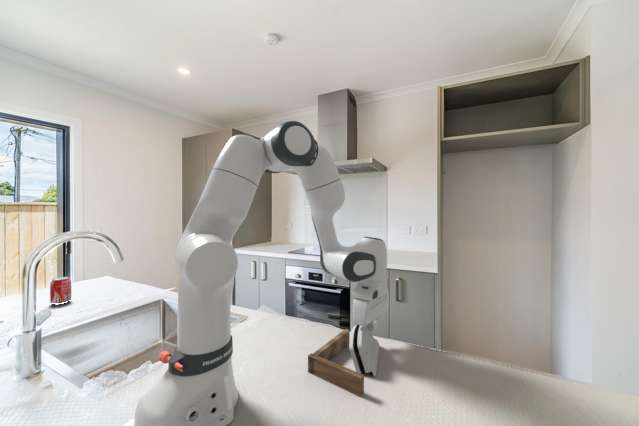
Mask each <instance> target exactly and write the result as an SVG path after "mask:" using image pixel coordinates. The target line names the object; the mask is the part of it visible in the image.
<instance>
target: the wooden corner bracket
mask: <svg viewBox="0 0 639 426" xmlns="http://www.w3.org/2000/svg"><path fill="white" fill-rule="evenodd" d="M350 335H351V331H350V329H347V328H345V329H343V330H342V331H340V333H338V334H337V335H336V336H334V337H332V339H330V340H329V341H328V342H326V343H325V344H324V345H322V346H321V347H320V348H318V349H317V350H315V351H314V352H313V353H310V354H308V355H307V373H309V374H311V375H314V376H315V377H317V378H319V379H322V380H324V381H325V382H328V383H330V384H332V385H334V386H336V387H338V388H340V389H343V390H345V391H347V392H349V393H351V394H353V395H356V396H358V397H360V398H362V397H363V395H364V394H365V375H364V374H362V373H361V374H360V373H358V372H356V370H352V369H351V368H348V367H346V366H343V365H341V364H339V363H336V362H334V361H332V360H333V359H334V358H335V357H336V356H337V355H338V354H339V353H341V352H342V351H343V350H344V349H346V348H347V346H348V347H349V342H350Z"/></svg>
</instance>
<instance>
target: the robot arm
mask: <svg viewBox="0 0 639 426" xmlns="http://www.w3.org/2000/svg"><path fill="white" fill-rule="evenodd" d="M287 171H293V172H295V174H297V176H298V178H299V180H300V182H301V185H302V187H303V190H304V193H305V196H306V200H307V202H308V206H309V209H310V214H311V220H312V223H313V227H314V231H315V234H316V237H317V241H318V245H319V254H320V255H319V256H320V257H319V259H320V260H319V262H320V266H321V268H322V270H323V271H324V272H325V273H326V274H328V275H331V276H335V277H338V278H341V279H342V280H345V281H348V282H351V283H357V284H356V286H355V287H354V288H353V290H352V292H351V296H352V298H354V299H353V302H352V318H353V319H352V321H353V323H354V325H359V326H363V327H365V326H366V325H369V330H370V331H371V332H374V331H375V330H376V329H377V328H378V323H379V317H380V315H381V314H382V313H383V312H384V311H386V310H387V309H388V308H389V305H390V294H389V288H388V276H387V271H386V270H387V266H388V250H387V245H386V243H385V241H384V240H383V239H382V238H377V237H372V236H362V237H361V239H360V240H359V241H358V242H356V244H354V245H352V246H350V247H345V246H343V245H342V244H341V243H340V242H339V240H338V238H337V233H336V229H335V226H334V221H333V219H334V215H335V214H336V213H337V212H338V211H339V210H340V209H341V208H342V206H343V205H344V203H345V199H346V194H345V189H344V188H345V187H344V185H343V181H342V179H341V175H340V173H339V170H338V168H337V166H336V163H335V161H334V159H333V157H332V155H331V154H330V152H329V150H328V149H327V148H326V147H325V146H322V145H319V144H318V142H317V140H316V139H315V137H314V135H313V133H312V131H311V130H310V129H309V128H308V127H307V126H306V125H305V124H303V123H302V122H300V121H297V120H290V121H284V122H282V123H279V124H278V125H276V126H275V128H273V129H271V130H270V131H268V132H267V133H266V134H265V135H264V136H262V137H261V138H260V139H259V138H258V139H257V138H255V137H253V136H251V135H247V134H234V135H233V136H232V137H230V138H229V139H228V141H227V142H226V143H225V145H224V146H223V148H222V149H221V151H220V153H219V155H218V157H217V159H216V161H215V163H214V166H212V169H211V172H210V175H209V176H208V179H207V182H206V184H205V186H204V188H203V191H202V193H201V196H200V198H199V200H198V203H197V204H196V206H195V209H194V210H193V212H192V214H191V216H190V218H189V220H188V223H187V224H186V226H185V228H184V230H183V232H182V235H181V237H180V240H179V242H178V244H177V246H176V247H175V248H176V249H175V254H174V255H175V261H176V264H177V271H178V284H177V285H178V287H177V288H178V289H177V292H178V293H177V309H176V313H177V314H176V315H177V316H176V319H177V320H176V322H177V323H176V324H177V326H176V327H177V330H176V332H177V333H176V334H177V339H176V340H177V341H176V342H177V344H176V347H175V348H174V351H173V353H170V352H169V351H168V350H163V351H161V352H160V353H159V355H158V361H160V362H161V363H162V364H163V365H164V364H165V365H166V364H168V367H167V368H166V369H165V370H164V371H163V372H162V374H161V375H160V376H159V377H158V378H157V379H156V380H155V381H154V382H153V383H152V384H151V385H150V387H148V389H146V391H145V392H144V393H143V394H142V395H141V396H140V397H139V400H138V401H137V403H136V404H137V405H136V407H135V412H134V417H133V418H131V419H130V420H129V421H127V422H126V423H125V424H123V426H227V425H229V424H231V423H232V422H233V421H234V415H235V414H234V412H235V411H234V410H235V407H236V405H237V403H238V400H239V390H238V389H237V385H236V382H235V377H234V372H233V371H234V370H233V361H232V356H233V352H234V349H233V348H234V343H233V335H232V334H231V331H232V330H231V326H232V325H231V323H232V322H231V321H232V320H231V316H232V315H231V307H232V306H231V305H232V297H233V290H234V283H235V276H236V273H237V270H238V266H239V263H238V262H239V261H238V260H239V259H238V256H237V253H236V251H235V248H234V246H233V245H232V244H231V243H232V241H233V238H234V236H235V234H236V233H237V232H238V230H239V228H240V227H241V225H242V224H243V222H244V221H245V220H246V218H247V216H248V214H249V210H251V209H250V208H251V206H252V202H253V200H254V197H255V195H256V193H257V189H258V187H259V184H260V181H261V178H262V177H263V175H264V173H268V174H269V173H270V174H279V173H283V172H287Z"/></svg>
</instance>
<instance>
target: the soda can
mask: <svg viewBox="0 0 639 426" xmlns="http://www.w3.org/2000/svg"><path fill="white" fill-rule="evenodd" d="M49 299H50V300H49V301H50V302H49V303H50V304H51V303H62V302H66V301H69V300H72V280H71V278H70V277H69V276H61V277H54V278H51V281H50V284H49ZM69 302H70V301H69Z"/></svg>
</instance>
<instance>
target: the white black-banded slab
mask: <svg viewBox="0 0 639 426" xmlns="http://www.w3.org/2000/svg"><path fill="white" fill-rule="evenodd" d="M348 348H349V352H350V355H351V358H352V362H353V366H354V369H355V372H358V373H360V374H362V373H363V372H364V373H365V374H369V373H372V374H373V377H374V378H376V377H377V371H378V369H377V368H378V360H379V353H380V343H379V341H378V339H376V338H375V337H374V335H373V333H372V331H370V330H369V325H366V326H365V327H363V326H359V325H356V324H354V326H353V327H352V328H351V331H350V342H349V345H348Z"/></svg>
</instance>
